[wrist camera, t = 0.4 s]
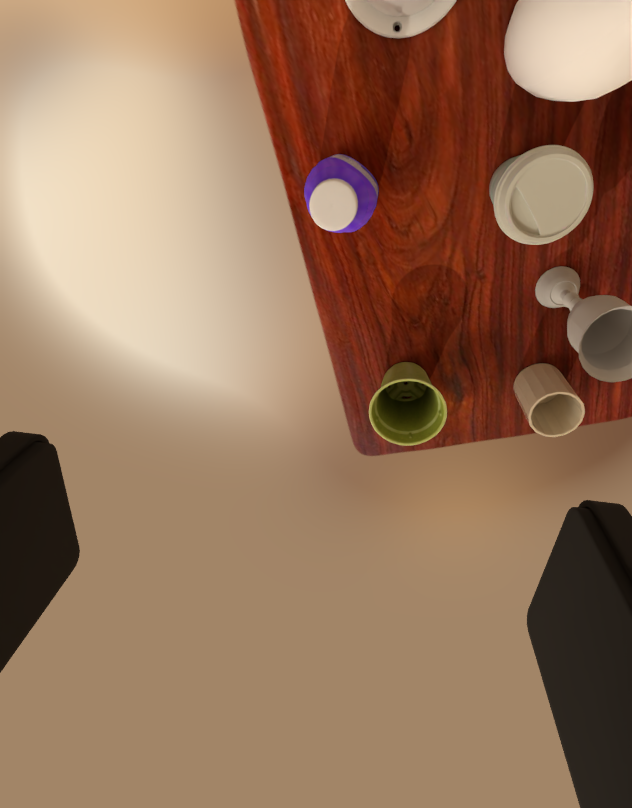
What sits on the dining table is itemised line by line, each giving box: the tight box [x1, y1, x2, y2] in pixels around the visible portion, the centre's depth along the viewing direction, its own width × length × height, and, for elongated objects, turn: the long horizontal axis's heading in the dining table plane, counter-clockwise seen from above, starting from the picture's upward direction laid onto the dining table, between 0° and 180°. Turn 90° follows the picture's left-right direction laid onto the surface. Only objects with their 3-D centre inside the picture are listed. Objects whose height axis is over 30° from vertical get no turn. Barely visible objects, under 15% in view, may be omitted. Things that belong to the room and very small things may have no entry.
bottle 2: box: [504, 0, 632, 102], centre depth 37 cm, size 11×11×25 cm
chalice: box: [535, 266, 632, 382], centre depth 51 cm, size 7×7×18 cm
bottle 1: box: [304, 154, 379, 233], centre depth 49 cm, size 7×6×17 cm
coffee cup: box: [489, 145, 593, 245], centre depth 49 cm, size 8×8×12 cm
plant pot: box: [369, 362, 447, 445], centre depth 64 cm, size 9×9×9 cm
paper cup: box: [514, 363, 585, 437], centre depth 62 cm, size 6×6×8 cm
